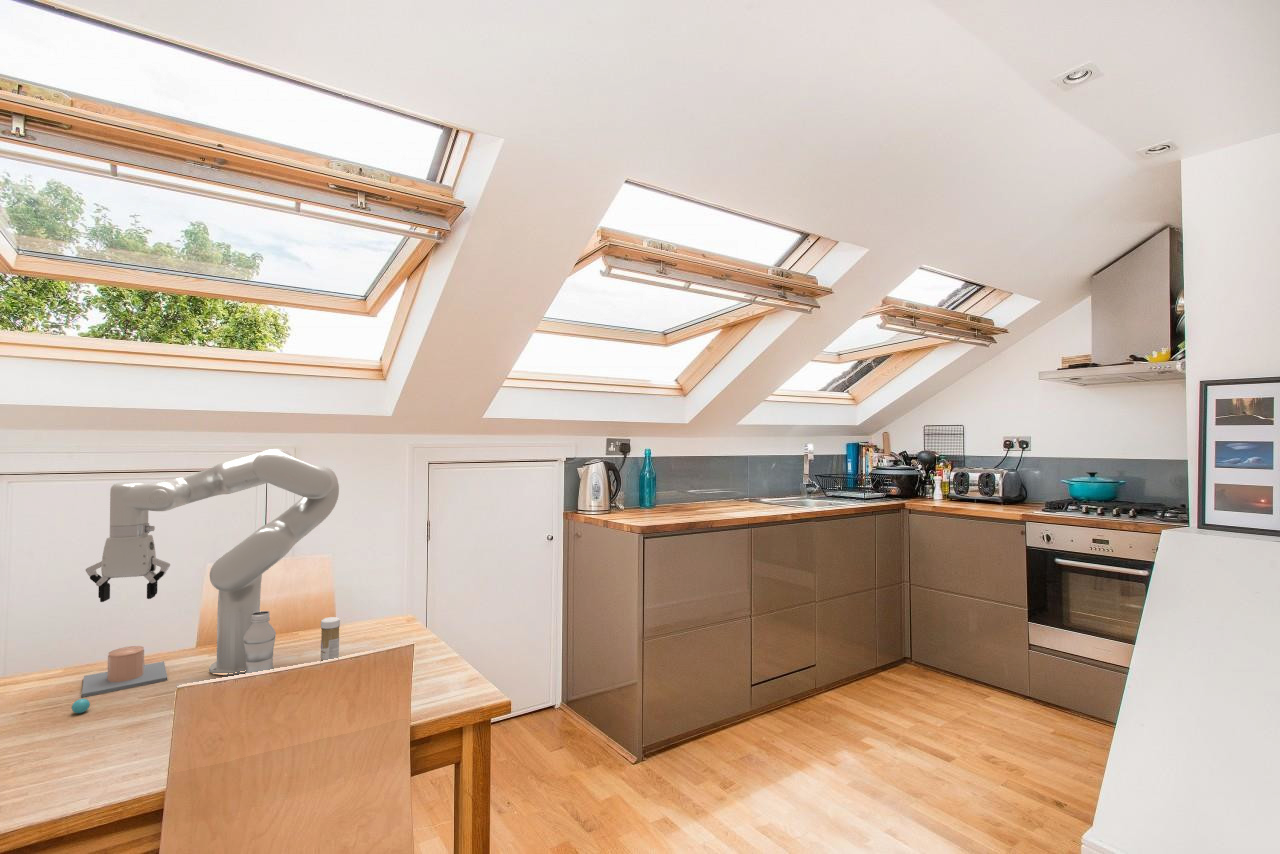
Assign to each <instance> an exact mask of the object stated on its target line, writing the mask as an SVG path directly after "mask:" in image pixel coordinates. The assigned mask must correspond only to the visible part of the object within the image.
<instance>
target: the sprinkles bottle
mask: <svg viewBox="0 0 1280 854" xmlns="http://www.w3.org/2000/svg"><path fill="white" fill-rule="evenodd" d="M340 627H341V618H339V617H337V616H330V617H329V616H328V617H324V618H323V619H321V621H320V628H321V631H320V632H321V633H320V634H321V639H320V662H321V661H323V660H328V659H334V658H338V659H339V657H340Z"/></svg>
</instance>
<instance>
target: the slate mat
mask: <svg viewBox="0 0 1280 854" xmlns="http://www.w3.org/2000/svg"><path fill="white" fill-rule="evenodd" d="M107 675H108V671H103V672H98V673H92V674H87V675H83V681H82V690H81V698H87V697H90V696H91V697H92V696H97V695H101V694H102V695H103V694H107V693H111V692H117V691H122V690H126V688H127V689H131V687H132V688H137V687H141V686H148V685H151V684H156V683H160V682H161V681H162V682H166V681H165V680H167V681H168V673H167V669H166V665H165V661H159V662H157V661H156V662H152V663H147V664H146V663H145V664H144V673H143V675H142V676H140V677H138V678H135V679H131V680H128V681H121V682H110V681H108V680H107ZM136 686H137V687H136ZM121 689H122V690H121Z"/></svg>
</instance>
